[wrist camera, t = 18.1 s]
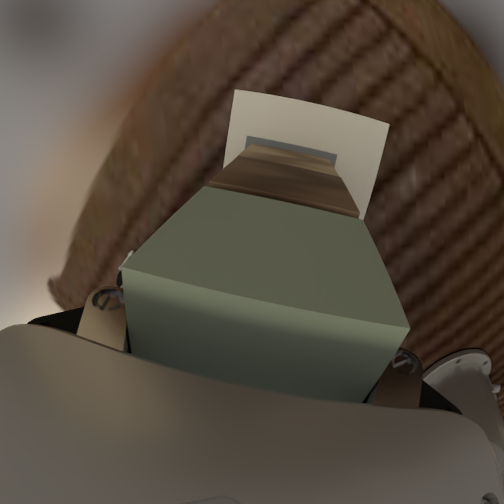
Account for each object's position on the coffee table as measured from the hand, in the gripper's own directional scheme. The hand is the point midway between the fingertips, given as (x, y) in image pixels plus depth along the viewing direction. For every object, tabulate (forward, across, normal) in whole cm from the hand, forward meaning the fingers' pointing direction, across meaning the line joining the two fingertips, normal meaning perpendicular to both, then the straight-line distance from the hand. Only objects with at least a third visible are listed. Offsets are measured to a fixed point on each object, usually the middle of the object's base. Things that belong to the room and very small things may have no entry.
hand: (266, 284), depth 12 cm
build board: (+15, -1, 0) cm, 15 cm away
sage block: (+1, 0, 0) cm, 1 cm away
